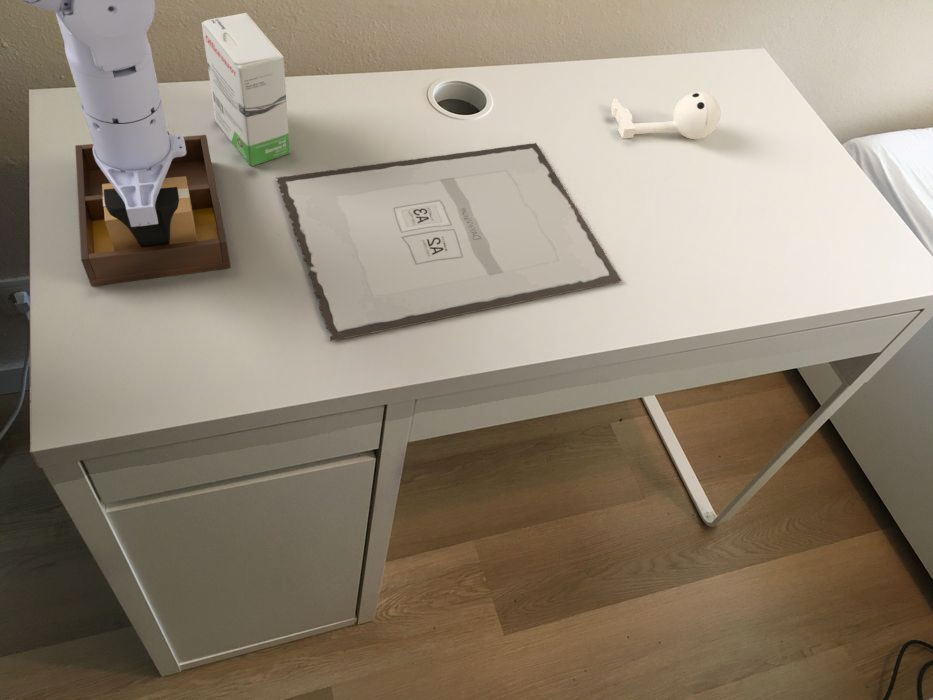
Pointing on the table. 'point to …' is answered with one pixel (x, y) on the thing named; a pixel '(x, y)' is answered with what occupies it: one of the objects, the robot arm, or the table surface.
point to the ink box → (247, 87)
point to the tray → (156, 259)
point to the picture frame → (439, 237)
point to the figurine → (675, 118)
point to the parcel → (179, 226)
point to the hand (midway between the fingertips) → (153, 227)
